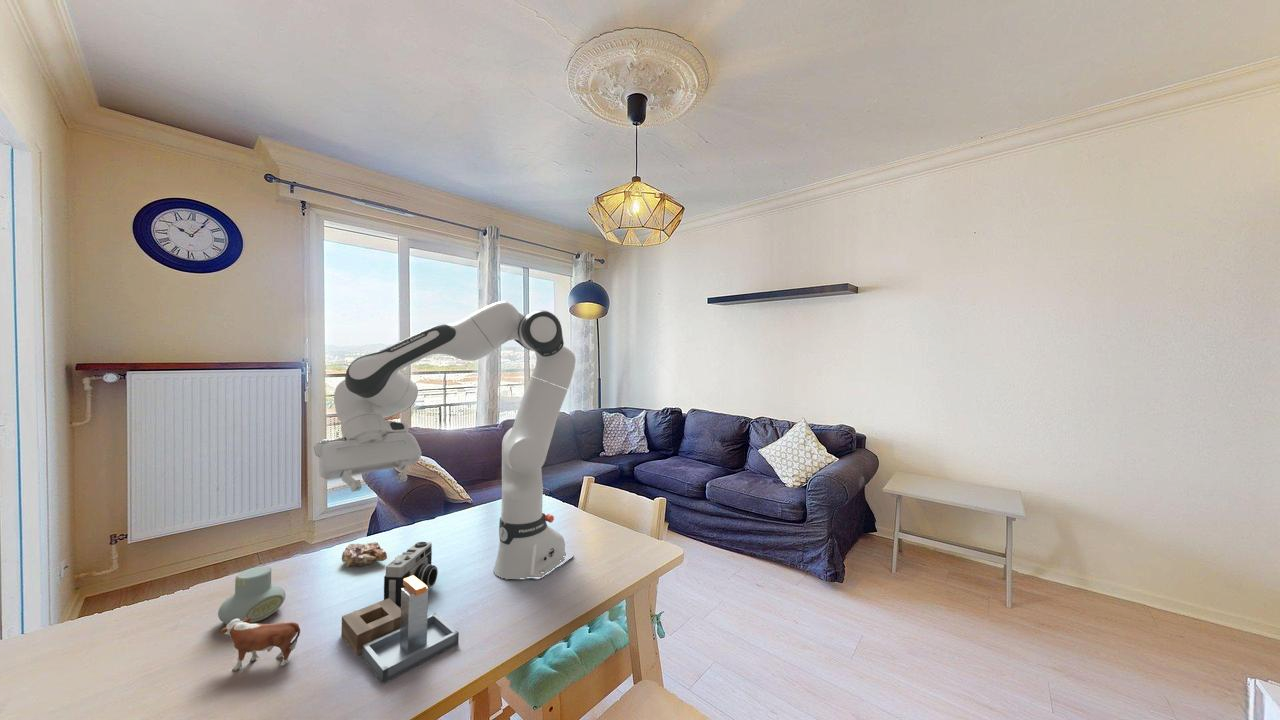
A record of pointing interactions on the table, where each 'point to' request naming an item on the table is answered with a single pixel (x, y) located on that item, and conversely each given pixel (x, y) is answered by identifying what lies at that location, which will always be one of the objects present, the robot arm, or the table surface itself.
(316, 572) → the table surface
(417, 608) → the orange-topped grey block
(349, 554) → the mineral specimen
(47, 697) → the table surface
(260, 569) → the air freshener
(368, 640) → the hitch block
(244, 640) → the bull figurine
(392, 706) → the table surface
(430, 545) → the camera
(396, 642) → the tray
